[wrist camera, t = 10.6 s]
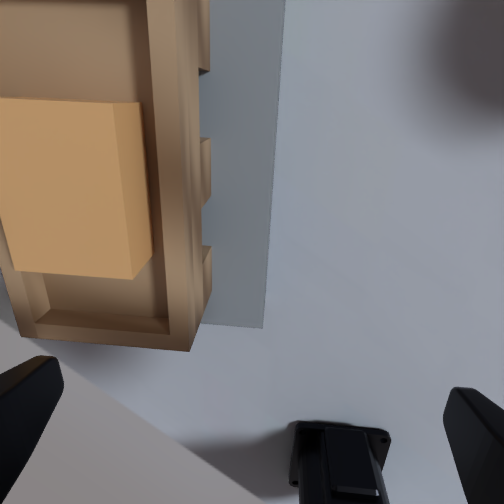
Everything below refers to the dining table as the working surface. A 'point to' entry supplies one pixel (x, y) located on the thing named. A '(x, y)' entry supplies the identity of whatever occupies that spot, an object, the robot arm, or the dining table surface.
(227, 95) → the dock
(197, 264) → the shallow cardboard tray
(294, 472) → the robot arm
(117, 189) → the block
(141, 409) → the dining table surface
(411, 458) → the dining table surface
